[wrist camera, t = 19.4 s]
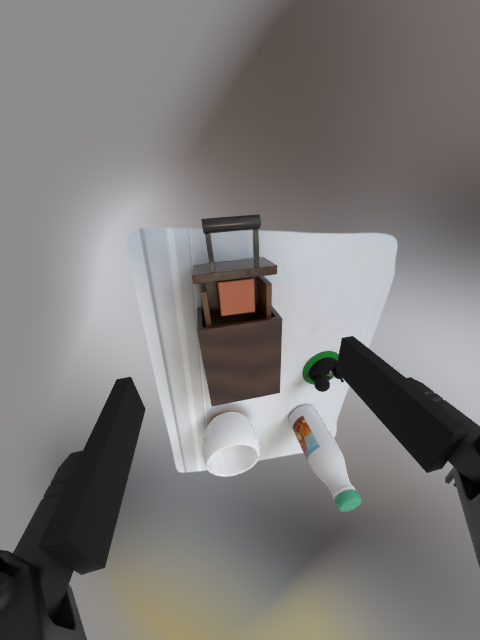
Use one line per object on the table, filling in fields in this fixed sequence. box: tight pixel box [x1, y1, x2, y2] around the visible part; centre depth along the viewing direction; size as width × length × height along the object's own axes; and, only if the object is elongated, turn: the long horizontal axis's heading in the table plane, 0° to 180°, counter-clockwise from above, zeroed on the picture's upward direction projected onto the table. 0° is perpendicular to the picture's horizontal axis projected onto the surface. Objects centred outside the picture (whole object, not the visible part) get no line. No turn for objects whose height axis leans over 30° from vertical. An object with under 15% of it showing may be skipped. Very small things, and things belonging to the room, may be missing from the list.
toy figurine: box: [303, 351, 344, 392], centre depth 46 cm, size 10×10×6 cm
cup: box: [203, 412, 260, 476], centre depth 46 cm, size 12×12×10 cm
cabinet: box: [197, 306, 282, 406], centre depth 37 cm, size 16×13×8 cm
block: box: [216, 277, 255, 316], centre depth 31 cm, size 5×5×5 cm
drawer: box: [192, 215, 277, 327], centre depth 31 cm, size 21×11×6 cm, turn 3°
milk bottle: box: [289, 405, 361, 512], centre depth 46 cm, size 8×8×20 cm
